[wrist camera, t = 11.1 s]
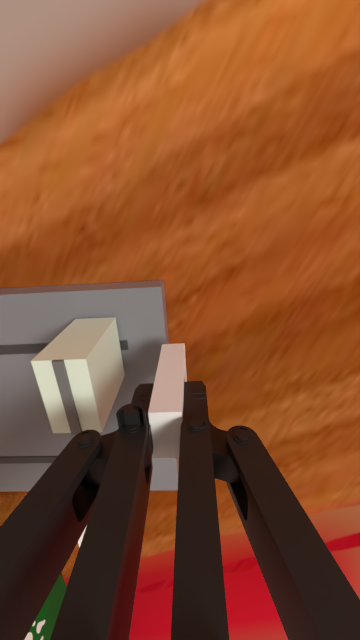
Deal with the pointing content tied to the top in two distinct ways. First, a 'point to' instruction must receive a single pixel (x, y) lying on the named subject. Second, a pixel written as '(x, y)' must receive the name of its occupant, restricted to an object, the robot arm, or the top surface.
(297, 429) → the top surface
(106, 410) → the fader
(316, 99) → the top surface
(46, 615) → the milk carton
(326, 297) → the top surface
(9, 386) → the console
